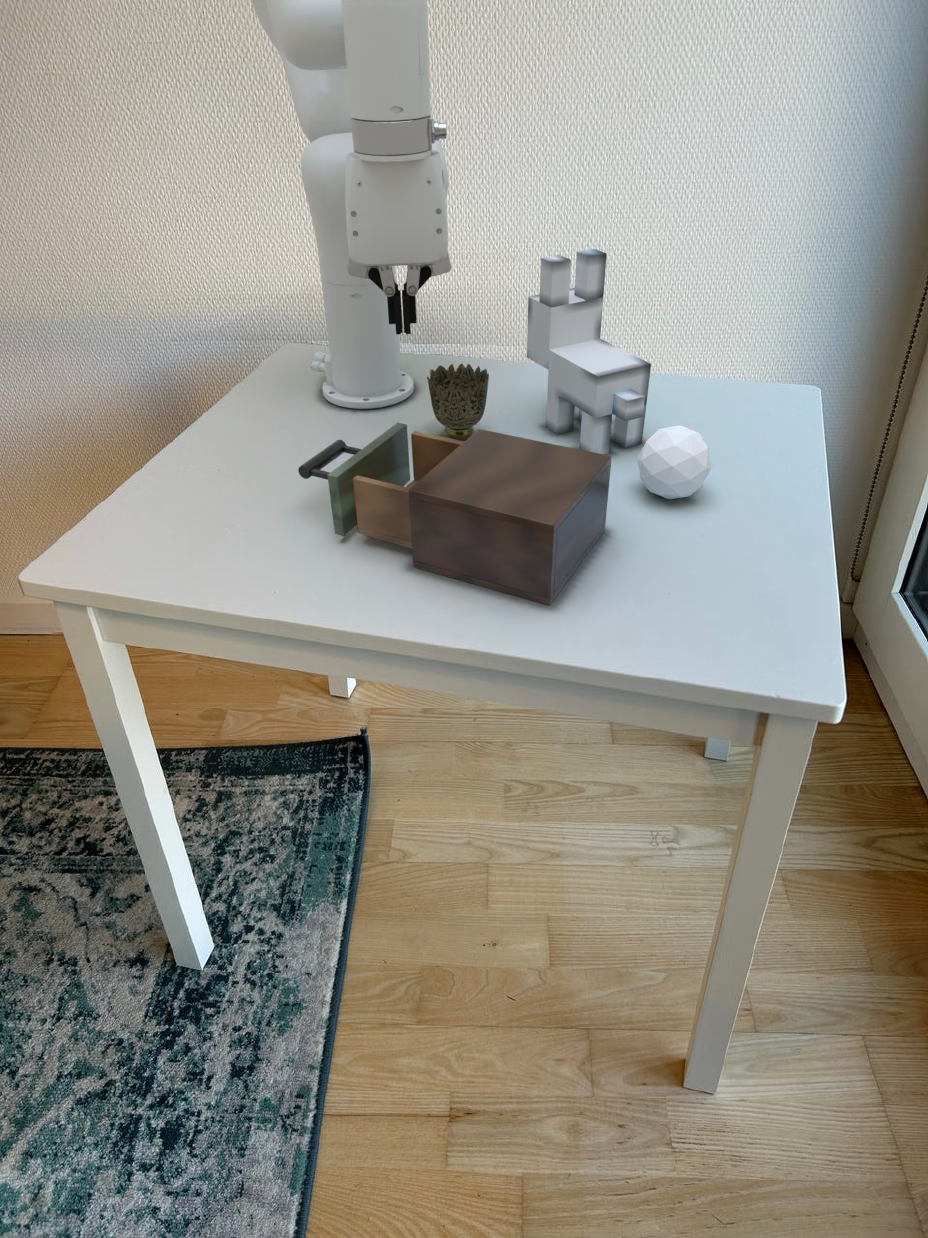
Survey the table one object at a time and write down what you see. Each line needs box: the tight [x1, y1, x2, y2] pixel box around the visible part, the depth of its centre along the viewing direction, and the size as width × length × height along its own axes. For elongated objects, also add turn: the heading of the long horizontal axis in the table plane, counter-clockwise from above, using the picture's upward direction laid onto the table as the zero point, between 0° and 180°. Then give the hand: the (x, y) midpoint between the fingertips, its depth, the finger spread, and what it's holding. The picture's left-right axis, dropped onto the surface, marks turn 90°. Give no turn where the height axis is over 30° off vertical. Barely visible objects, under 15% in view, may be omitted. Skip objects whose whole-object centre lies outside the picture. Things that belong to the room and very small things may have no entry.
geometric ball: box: [636, 424, 713, 500], centre depth 93 cm, size 8×8×8 cm
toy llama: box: [526, 248, 652, 455], centre depth 103 cm, size 8×18×20 cm, turn 29°
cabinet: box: [408, 428, 612, 606], centre depth 85 cm, size 15×15×9 cm
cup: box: [426, 363, 490, 441], centre depth 106 cm, size 8×7×8 cm
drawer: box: [297, 422, 465, 549], centre depth 90 cm, size 20×13×7 cm
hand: (403, 329), depth 93 cm, fingers closed
